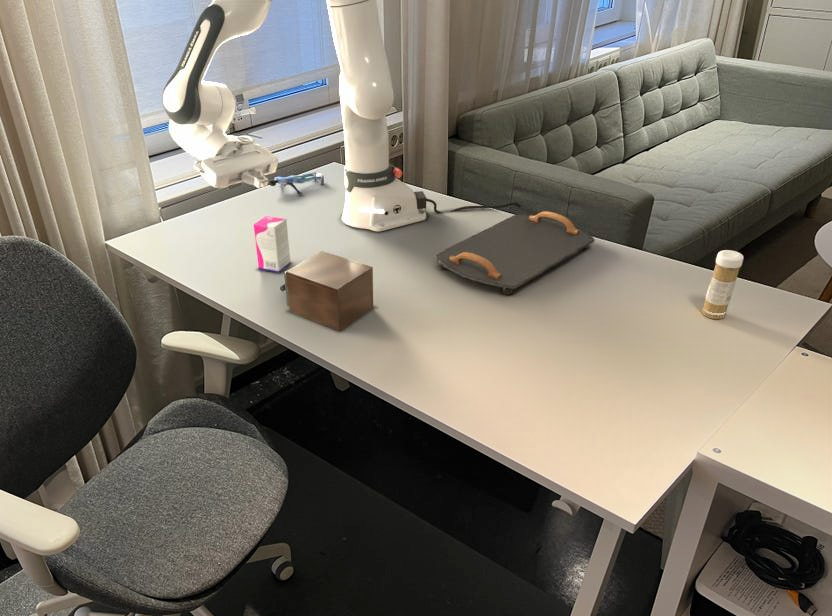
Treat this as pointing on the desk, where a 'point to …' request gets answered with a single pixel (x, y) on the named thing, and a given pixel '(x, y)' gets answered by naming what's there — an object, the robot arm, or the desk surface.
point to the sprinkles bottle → (722, 283)
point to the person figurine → (297, 180)
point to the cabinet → (330, 290)
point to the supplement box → (272, 244)
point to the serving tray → (515, 250)
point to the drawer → (285, 288)
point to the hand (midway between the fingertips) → (263, 184)
